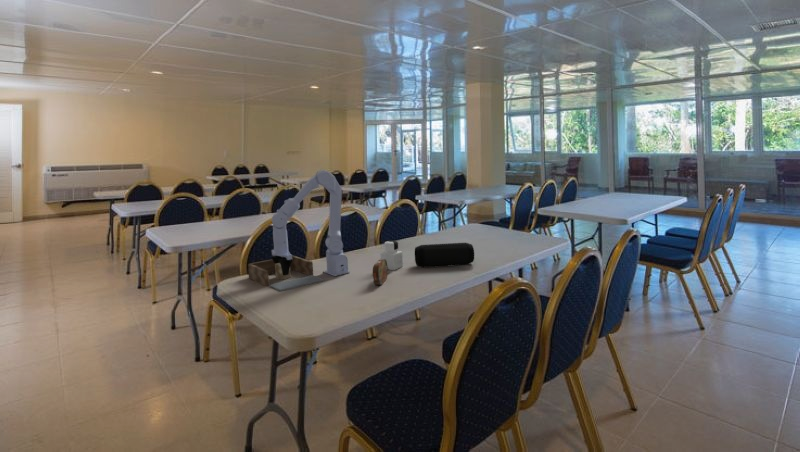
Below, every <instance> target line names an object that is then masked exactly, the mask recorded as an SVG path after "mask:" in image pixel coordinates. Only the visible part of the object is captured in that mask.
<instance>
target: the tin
mask: <svg viewBox="0 0 800 452" xmlns="http://www.w3.org/2000/svg"><path fill="white" fill-rule="evenodd" d="M388 271H389V269H388V267H387V261H386V260H385V259H381V258H380V259H378V260H377V261H376V262H375V264H373V266H372V277H373V284H374V285H375V286H376V285H377V286H383V285H384V283H385V282H386V280H387V279H388V275H389V274H388V273H389V272H388Z"/></svg>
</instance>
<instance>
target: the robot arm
mask: <svg viewBox="0 0 800 452" xmlns="http://www.w3.org/2000/svg"><path fill="white" fill-rule="evenodd" d="M321 186H322V187H324V188H325V190H327V192H328V193H329V214H328V215H329V216H328V217H329V219H328V231H327V236H326V239H325V242H324V243H325V246H326V247H327V250H325V257H326V258H325V260H326V269H325V270H323V271H322V272H323V273H324V274H328V275H331V276H334V277H336V276H341V275H345V274H349V273H351V271H350V270H349V261H348V260H349V259H348V256H346V255H345V254H344V250H343V248H344V243H343V241H342V233H341V222H342V221H341V219H342V218H341V217H342V213H341V212H342V196H343V195H342V194H343V193H342V192H343V190H342V187H341V185H340V184H339V182H338V180H337V178H336V176H335V175H334V174H333V173H331V172H330V171H328V170H325V169H320V170H318V171H317V172H316V173H315V174H314V175H312V176H311V177H310V178H309V179H308V180H307V181H306V182H305V184H304V185H303V186H302V187H301V188H300V190H299V191H298V192H297V193H296V194H295V196H294V197H292V198H291V197H289V198H288V199H285V200H284V202H283V205H282V206H281V207H280V208H278V209H277V210H276V213H274V214H273V215H272V216H271V223H272V230H273V231H272V238H273V239H272V240H273V249H271V259H272V260H273V262H274V264H277V263H280V264H281V268H282V273H283V275H288V274H289V269H290V265H291V262H292V260H293V258H292V255H293V254H291V252H290V251H289V240H288V230H287V224H288V220H290V219H291V218H292V217H293V216H294V215H295V214H296V213H297V211H298V210H299V209H300V208H301V205H300V203H301V202H302V201H303V200H304V199H305V198H306V197H307V196H308V195H309V194H310V193H311V192H312V191H313V190H315V189H318V188H320V187H321ZM271 259H270V260H271Z"/></svg>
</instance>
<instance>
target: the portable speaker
mask: <svg viewBox="0 0 800 452" xmlns="http://www.w3.org/2000/svg"><path fill="white" fill-rule="evenodd" d="M474 261H475V249H474V245H473V244H472V243H468V242H454V243H453V242H451V243H435V244H434V243H433V244H430V243H429V244H420V245H418V246H415V248H414V263H415V265H416V266H417V267H421V268H432V267H433V268H436V267H435V266H438V267H448V265H454V266H465V265H469V264H471V263H473V262H474Z"/></svg>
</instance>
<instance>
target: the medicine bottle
mask: <svg viewBox="0 0 800 452" xmlns="http://www.w3.org/2000/svg"><path fill="white" fill-rule="evenodd" d="M403 257H404V256H403V251H401V250H399V242H398V241H396V240H387V241H384V251H383V252H381V253H380V260H381V259H385V260H386V261H387V267H388V271H389V270H390V271H395V270H398V269H401V268H403V266H404V263H403V261H404V260H403Z"/></svg>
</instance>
